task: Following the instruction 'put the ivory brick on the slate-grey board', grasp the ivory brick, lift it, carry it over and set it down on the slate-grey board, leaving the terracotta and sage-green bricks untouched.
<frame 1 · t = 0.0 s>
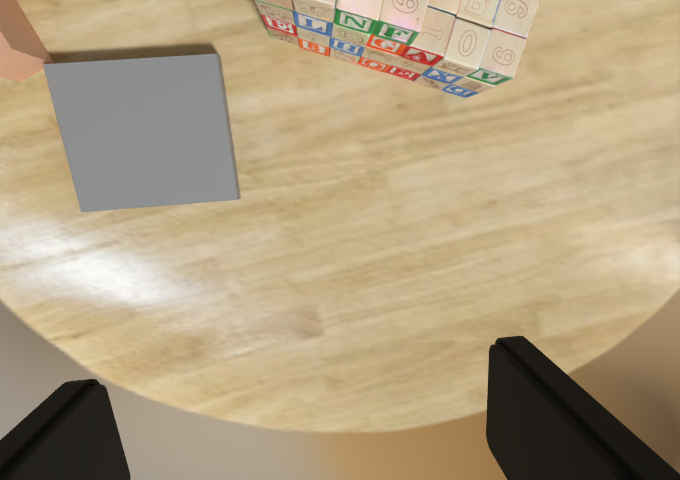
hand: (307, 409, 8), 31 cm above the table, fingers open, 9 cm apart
terracotta brick: (14, 36, 33), on the table
slate board: (153, 136, 36), on the table
stack of blocks: (378, 38, 35), on the table
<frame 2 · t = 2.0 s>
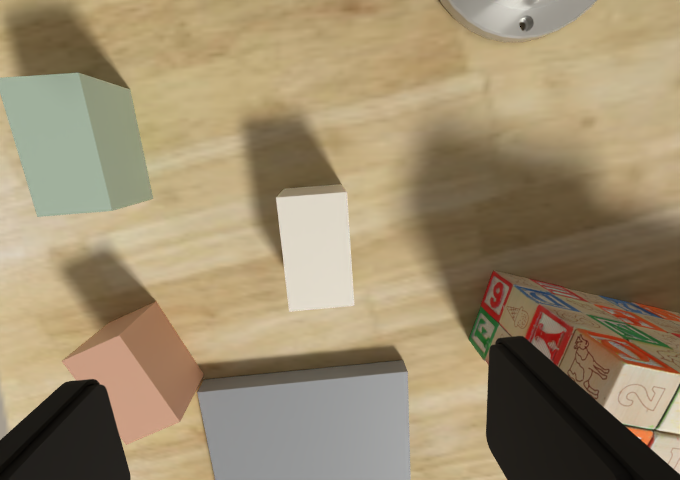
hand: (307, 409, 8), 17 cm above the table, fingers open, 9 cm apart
terracotta brick: (158, 348, 27), on the table
ivory brick: (317, 234, 25), on the table
sage brick: (112, 148, 23), on the table
slate board: (312, 441, 30), on the table
stack of blocks: (595, 329, 29), on the table
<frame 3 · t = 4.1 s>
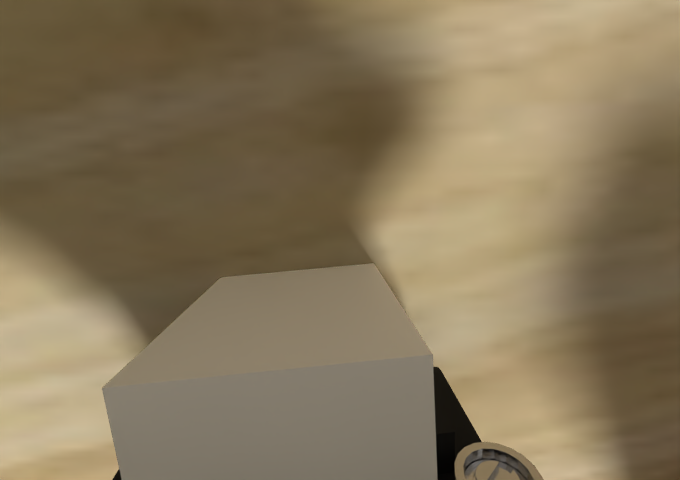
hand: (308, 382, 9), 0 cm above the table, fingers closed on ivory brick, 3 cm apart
ivory brick: (310, 390, 10), on the table, touching gripper
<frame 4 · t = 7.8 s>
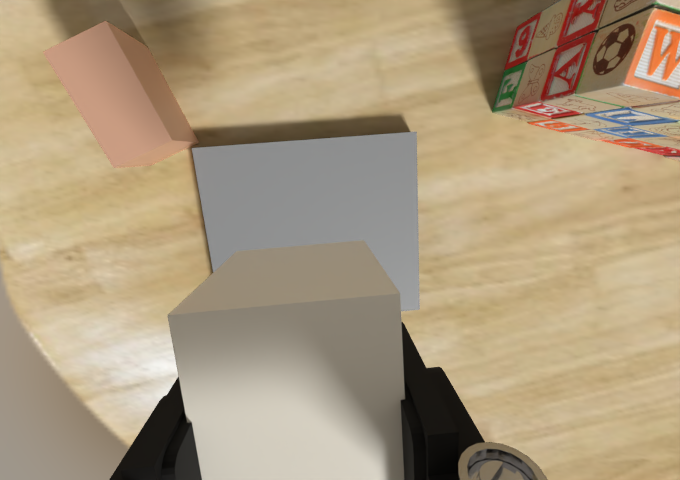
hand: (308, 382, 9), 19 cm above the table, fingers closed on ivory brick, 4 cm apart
terracotta brick: (150, 108, 25), on the table
ivory brick: (310, 348, 12), point 17 cm above the table, touching gripper
slate board: (314, 230, 28), on the table
stack of blocks: (624, 105, 27), on the table
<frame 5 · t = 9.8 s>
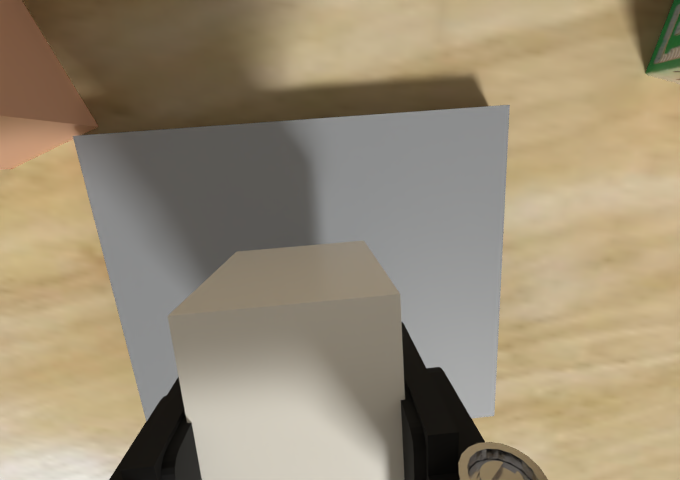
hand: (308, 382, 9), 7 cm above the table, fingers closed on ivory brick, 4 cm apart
ivory brick: (310, 348, 12), point 5 cm above the table, touching gripper
slate board: (314, 282, 16), on the table
when the fingers open (4 cm above the table, at t = 11.3 s): ivory brick stays where it is, resting on slate board.
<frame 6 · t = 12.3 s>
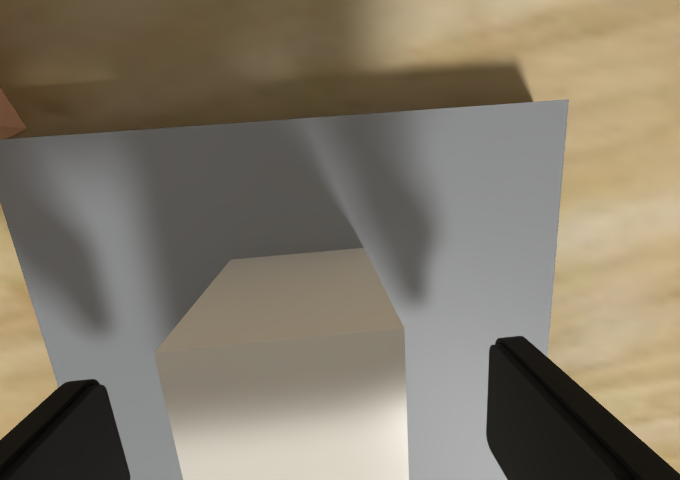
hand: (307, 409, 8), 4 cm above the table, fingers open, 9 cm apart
ivory brick: (309, 356, 11), point 1 cm above the table, touching slate board
slate board: (310, 325, 13), on the table
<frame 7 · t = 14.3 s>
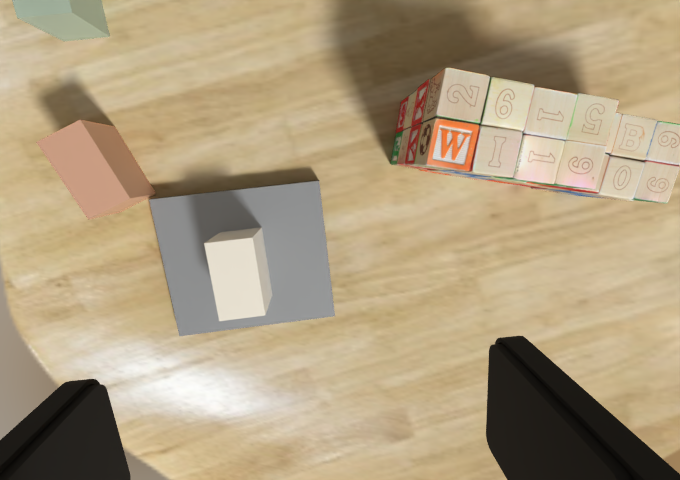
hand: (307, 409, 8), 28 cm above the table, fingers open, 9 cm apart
terracotta brick: (118, 170, 33), on the table
ivory brick: (246, 264, 34), point 1 cm above the table, touching slate board
slate board: (249, 257, 36), on the table
stack of blocks: (494, 151, 36), on the table
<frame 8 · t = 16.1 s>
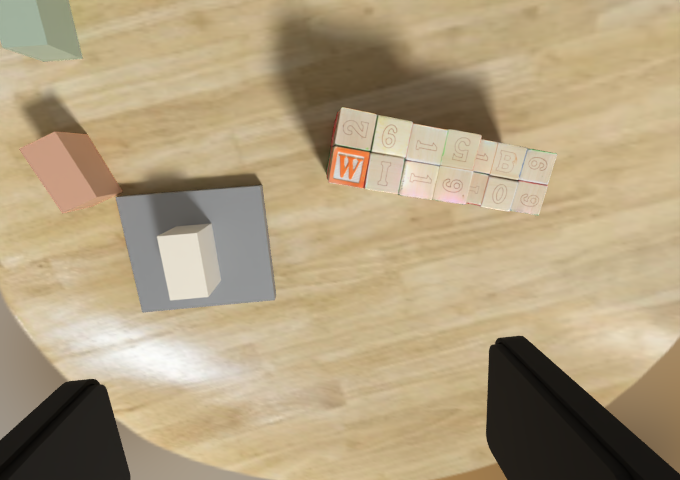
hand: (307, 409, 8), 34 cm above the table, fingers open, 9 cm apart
terracotta brick: (90, 171, 39), on the table
ivory brick: (199, 253, 41), point 1 cm above the table, touching slate board
sage brick: (54, 23, 36), on the table
slate board: (203, 247, 42), on the table
stack of blocks: (416, 164, 42), on the table
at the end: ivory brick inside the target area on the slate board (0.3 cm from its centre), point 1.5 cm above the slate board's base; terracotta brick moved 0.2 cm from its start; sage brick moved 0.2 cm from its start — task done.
